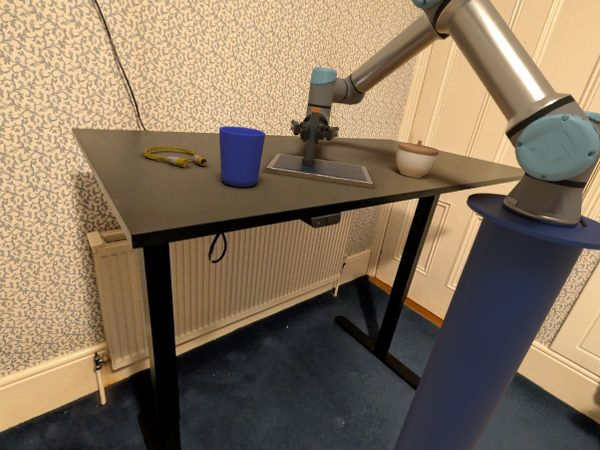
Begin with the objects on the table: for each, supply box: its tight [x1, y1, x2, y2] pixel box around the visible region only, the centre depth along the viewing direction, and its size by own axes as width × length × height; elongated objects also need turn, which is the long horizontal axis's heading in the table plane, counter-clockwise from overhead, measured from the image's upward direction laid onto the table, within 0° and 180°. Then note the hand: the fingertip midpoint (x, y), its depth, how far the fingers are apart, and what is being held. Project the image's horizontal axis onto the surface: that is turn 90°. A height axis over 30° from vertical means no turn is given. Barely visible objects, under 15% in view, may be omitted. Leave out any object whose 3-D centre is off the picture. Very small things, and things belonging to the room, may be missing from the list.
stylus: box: [302, 107, 321, 166], centre depth 77 cm, size 3×3×13 cm
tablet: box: [265, 152, 374, 189], centre depth 80 cm, size 24×17×1 cm
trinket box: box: [395, 139, 440, 179], centre depth 88 cm, size 11×11×9 cm
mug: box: [218, 125, 266, 188], centre depth 62 cm, size 8×12×10 cm
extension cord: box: [144, 145, 208, 168], centre depth 72 cm, size 12×16×2 cm
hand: (311, 136), depth 72 cm, fingers closed on stylus, 2 cm apart
